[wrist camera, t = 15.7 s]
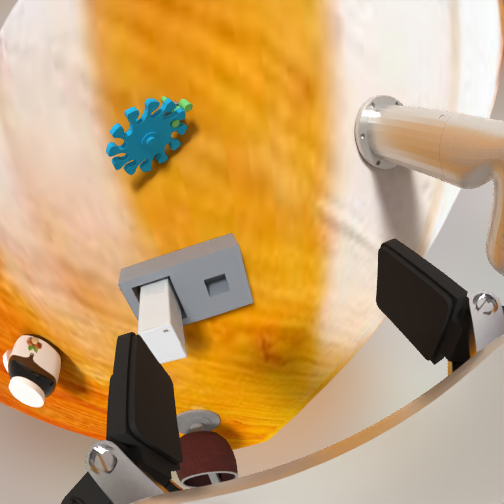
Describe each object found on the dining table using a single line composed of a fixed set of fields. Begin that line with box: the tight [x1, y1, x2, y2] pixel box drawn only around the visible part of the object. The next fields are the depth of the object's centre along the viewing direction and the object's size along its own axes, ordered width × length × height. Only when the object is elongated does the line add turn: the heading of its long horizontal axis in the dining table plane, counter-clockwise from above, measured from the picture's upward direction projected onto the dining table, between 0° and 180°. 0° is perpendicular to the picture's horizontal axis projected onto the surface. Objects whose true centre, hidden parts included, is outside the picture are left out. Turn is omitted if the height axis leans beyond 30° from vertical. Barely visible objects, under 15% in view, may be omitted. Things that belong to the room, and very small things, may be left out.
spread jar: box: [3, 334, 61, 407], centre depth 34 cm, size 12×11×12 cm
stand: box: [118, 233, 253, 326], centre depth 40 cm, size 17×10×4 cm, turn 101°
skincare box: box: [138, 276, 187, 364], centre depth 35 cm, size 6×4×12 cm
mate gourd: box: [176, 410, 238, 488], centre depth 52 cm, size 16×14×20 cm
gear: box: [106, 96, 192, 175], centre depth 29 cm, size 11×6×10 cm
